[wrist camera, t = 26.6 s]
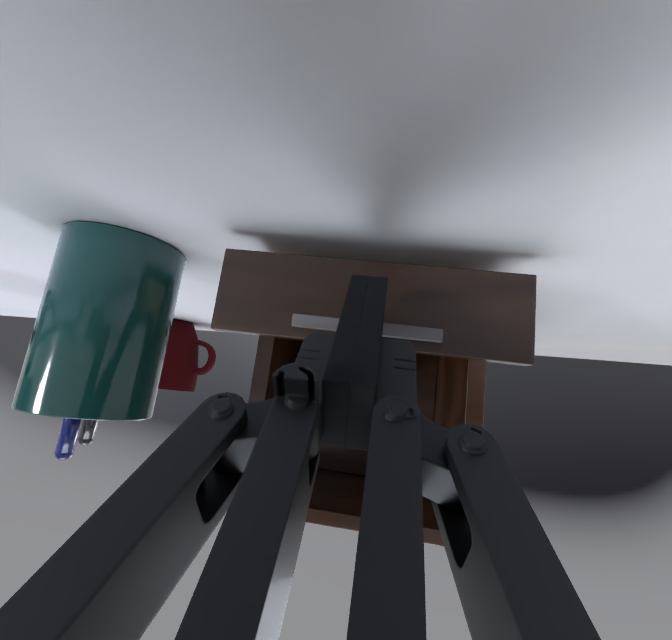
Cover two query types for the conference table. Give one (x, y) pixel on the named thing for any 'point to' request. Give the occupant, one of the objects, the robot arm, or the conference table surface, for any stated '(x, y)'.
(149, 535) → the robot arm
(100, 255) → the pen pot
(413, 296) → the drawer
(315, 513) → the open wooden box
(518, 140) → the conference table surface
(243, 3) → the conference table surface
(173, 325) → the mug
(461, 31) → the conference table surface
